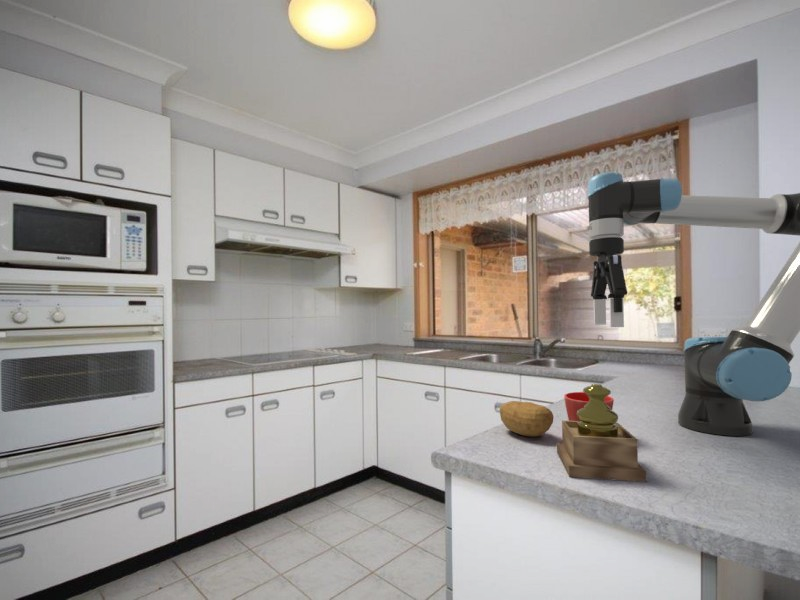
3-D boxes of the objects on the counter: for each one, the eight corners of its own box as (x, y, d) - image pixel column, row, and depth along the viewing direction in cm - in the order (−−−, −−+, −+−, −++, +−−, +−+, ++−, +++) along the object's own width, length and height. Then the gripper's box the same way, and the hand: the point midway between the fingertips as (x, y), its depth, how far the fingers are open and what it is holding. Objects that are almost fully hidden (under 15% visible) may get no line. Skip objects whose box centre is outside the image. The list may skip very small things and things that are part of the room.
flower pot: (621, 445, 93) (620, 402, 93) (569, 442, 95) (568, 400, 95) (607, 431, 103) (606, 392, 103) (561, 429, 105) (560, 391, 106)
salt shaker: (626, 436, 80) (625, 385, 80) (604, 443, 76) (603, 389, 76) (591, 427, 86) (590, 380, 87) (569, 433, 82) (568, 383, 83)
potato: (514, 425, 110) (514, 395, 110) (562, 438, 98) (561, 404, 99) (489, 431, 104) (489, 400, 104) (537, 446, 93) (536, 411, 93)
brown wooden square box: (622, 455, 86) (621, 421, 86) (646, 481, 74) (645, 441, 74) (556, 452, 89) (556, 418, 89) (569, 476, 76) (568, 437, 76)
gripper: (578, 246, 113) (579, 323, 113) (604, 230, 89) (606, 328, 88) (607, 245, 112) (609, 323, 111) (642, 228, 87) (644, 328, 87)
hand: (607, 325), depth 100 cm, fingers open, 13 cm apart
